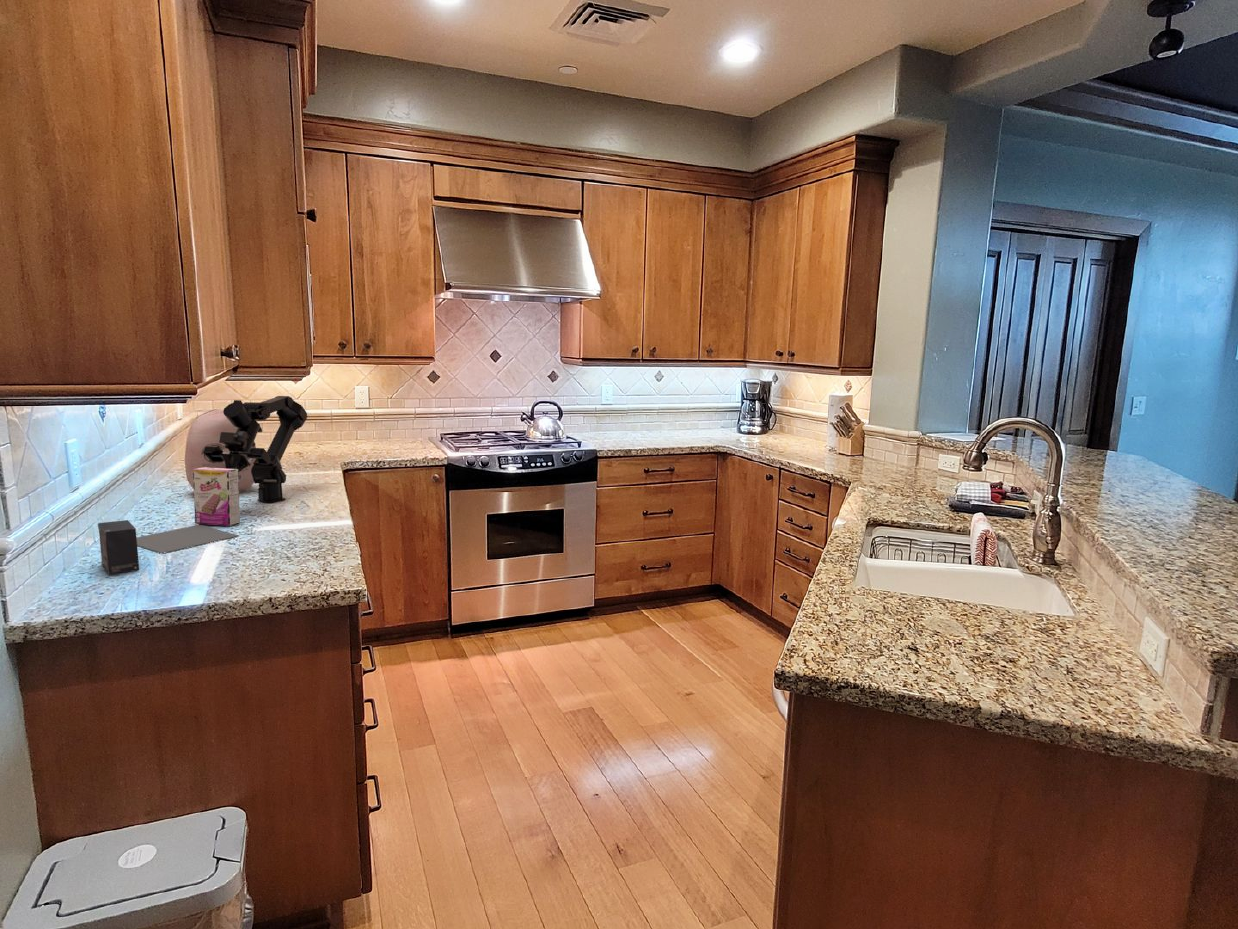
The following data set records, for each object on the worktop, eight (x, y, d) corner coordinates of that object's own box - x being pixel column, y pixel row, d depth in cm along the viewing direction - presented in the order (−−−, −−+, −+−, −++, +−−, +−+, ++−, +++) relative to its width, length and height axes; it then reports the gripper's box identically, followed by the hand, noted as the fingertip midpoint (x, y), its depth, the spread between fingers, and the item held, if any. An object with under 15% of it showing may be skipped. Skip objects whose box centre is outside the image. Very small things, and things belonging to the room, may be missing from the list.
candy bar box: (193, 524, 204) (191, 468, 202) (205, 521, 209) (203, 467, 207) (229, 526, 203) (228, 470, 201) (240, 523, 208) (239, 468, 206)
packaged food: (250, 485, 260) (244, 404, 255) (266, 494, 246) (260, 409, 241) (182, 492, 246) (174, 407, 240) (195, 502, 231) (187, 412, 226)
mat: (199, 525, 204) (199, 524, 204) (238, 536, 194) (238, 535, 194) (123, 541, 187) (123, 540, 187) (161, 554, 177) (161, 553, 177)
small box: (141, 570, 165) (137, 527, 163) (108, 576, 161) (103, 532, 159) (133, 559, 173) (128, 518, 171) (100, 565, 168) (96, 522, 167)
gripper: (203, 419, 213) (183, 463, 205) (262, 422, 213) (245, 465, 204) (221, 440, 223) (202, 482, 215) (278, 442, 222) (262, 485, 214)
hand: (227, 478), depth 212 cm, fingers closed
